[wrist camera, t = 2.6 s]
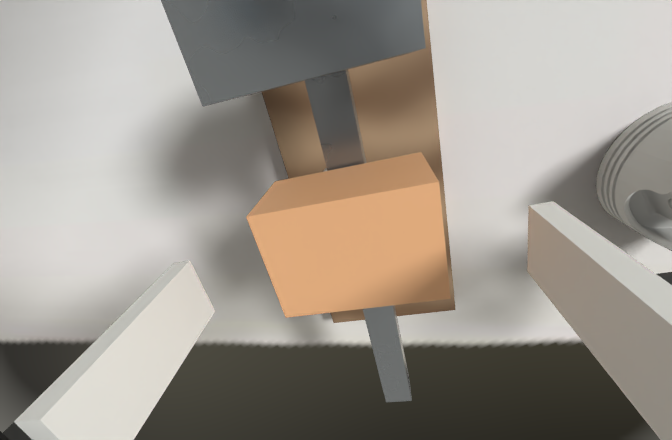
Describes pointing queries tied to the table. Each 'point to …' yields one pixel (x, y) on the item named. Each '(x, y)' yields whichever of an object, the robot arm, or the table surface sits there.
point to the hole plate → (372, 132)
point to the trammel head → (354, 237)
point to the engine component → (641, 176)
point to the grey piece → (321, 82)
